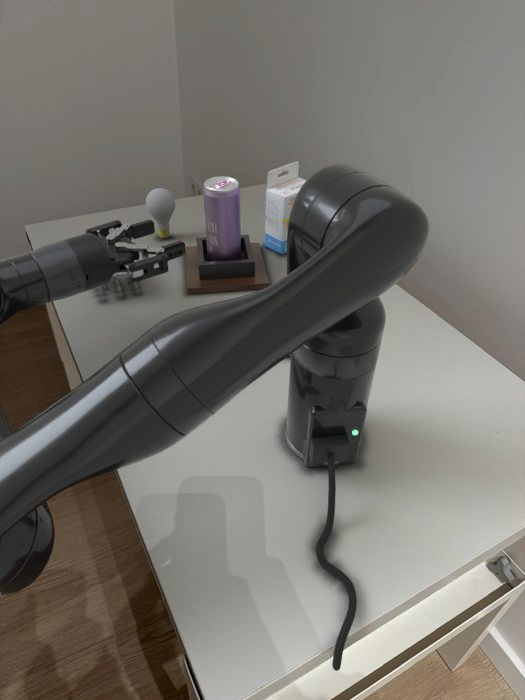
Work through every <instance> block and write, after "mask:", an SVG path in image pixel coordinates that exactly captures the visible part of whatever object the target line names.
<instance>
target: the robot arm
mask: <svg viewBox="0 0 525 700" xmlns="http://www.w3.org/2000/svg"><path fill="white" fill-rule="evenodd" d="M305 180H306V182H305V183H304V184H303V185H302V187H301V188H300V190H299V192H298V194H297V196H296V198H295V200H294V203H293V205H292V209H291V213H290V217H289V223H288V233H287V253H286V275H285V276H283V277H282V278H280V279H279V280H277V281H275V282H274V283H272V284H269V286H268V287H266V288H264V289H258V290H257V291H254V292H252V293H249V294H245V295H241V296H238V297H233V298H230V299H226V300H220V301H215V302H212V303H207V304H204V305H199V306H195V307H191V308H188V309H185V310H182V311H179V312H176V313H173V314H171V315H169V316H168V317H165V318H164V319H162V320H160V321H159V322H158V323H156V324H155V325H153V326H152V327H150V328H149V329H148V330H146V331H145V332H144V333H142V334H141V335H140V336H138V337H137V338H136V339H135V340H133V341H132V342H131V343H129V344H128V345H127V346H126V347H125V348H123V349H122V350H121V351H119V352H118V353H117V354H116V355H114V357H112V358H111V359H110V360H109V361H107V363H105V364H104V365H103V366H102V367H100V368H99V369H97V371H95V372H94V373H93V374H92V375H90V376H89V377H88V378H86V379H85V380H84V381H83V382H81V383H80V384H79V385H77V386H76V387H74V388H73V389H71V390H70V391H69V392H68V393H66V394H65V395H64V396H63V397H61V398H59V399H58V400H57V401H55V402H54V403H53V404H52V405H50V406H48V407H47V408H46V409H45V410H43V411H42V412H40V413H38V415H36V416H35V417H33V418H32V419H31V420H30V421H28V422H27V423H25V424H24V425H23V426H20V427H19V428H18V429H16V430H15V431H12V429H11V427H10V425H9V422H8V420H7V418H6V415H5V413H4V410H3V408H2V405H1V404H0V596H7V595H8V596H9V595H13V594H15V593H19V592H20V591H22V590H24V589H25V588H28V587H29V586H31V585H32V584H33V583H34V582H35V581H36V580H37V579H38V578H39V576H40V575H41V574H42V573H43V571H44V570H45V568H46V567H47V564H49V563H48V562H49V561H50V558H51V556H52V553H53V550H54V544H55V535H56V533H55V532H56V530H55V522H54V518H53V515H52V511H51V509H50V507H49V504H48V503H47V502H48V501H49V500H51V499H53V498H54V497H55V496H57V495H60V493H62V492H64V491H66V490H67V489H70V488H72V487H73V486H77V485H79V484H80V483H83V482H86V481H88V480H91V479H94V478H96V477H99V476H102V475H105V474H108V473H111V472H114V471H116V470H120V469H122V468H126V467H129V466H131V465H133V464H136V463H139V462H141V461H145V460H146V459H149V458H151V457H154V456H156V455H158V454H160V453H162V452H164V451H166V450H168V449H169V448H172V447H173V446H174V445H176V444H178V443H179V442H181V441H183V439H185V438H186V437H188V435H190V434H191V433H193V432H194V431H195V430H196V429H198V428H200V426H202V425H203V424H204V423H206V421H208V420H209V419H210V418H211V417H213V416H214V415H215V414H217V413H218V412H219V411H220V410H221V409H223V408H224V407H225V406H226V405H227V404H229V402H231V401H232V400H233V399H234V398H236V396H238V395H239V394H240V393H241V392H243V391H244V390H245V389H247V388H248V387H249V386H251V385H252V384H253V383H255V382H256V381H257V380H259V379H260V378H261V377H262V376H263V375H265V374H266V373H268V372H269V371H271V370H272V369H273V368H274V367H276V366H277V365H279V364H281V362H282V361H284V360H285V359H287V358H288V357H290V363H289V364H290V365H289V377H288V379H289V380H288V393H287V394H288V395H287V410H286V423H285V431H284V436H285V440H286V441H285V442H286V444H287V446H288V447H289V449H290V450H291V451H292V453H293V454H294V455H296V457H298V458H300V459H301V460H302V461H303V462H304V466H305V468H315V467H316V468H317V467H325V466H327V476H328V493H327V497H328V498H327V513H326V522H325V527H324V529H323V532H322V533H321V535H320V537H319V539H318V541H317V543H316V548H315V549H316V550H315V553H316V558H317V561H318V563H319V564H320V565H321V566H322V568H323V569H325V571H327V572H328V573H329V574H331V575H332V576H333V577H335V578H336V579H337V580H339V581H340V582H341V583H342V584H344V586H345V589H346V591H347V596H348V608H347V612H346V614H345V618H344V619H343V623H342V625H341V628H340V630H339V632H338V636H337V638H336V641H335V644H334V645H335V646H334V650H333V657H332V662H331V663H332V664H331V666H332V669H333V671H337V672H338V671H340V669H341V666H342V661H343V660H342V659H343V653H344V650H345V649H344V648H345V645H346V642H347V639H348V636H349V633H350V631H351V628H352V625H353V623H354V620H355V618H356V613H357V607H358V605H357V604H358V600H357V599H358V597H357V592H356V588H355V585H354V583H353V581H352V580H351V578H350V577H349V576H348V575H347V574H345V572H344V571H342V570H340V569H339V568H337V566H335V565H334V564H332V563H331V562H330V561H329V560H328V559H327V557H326V555H325V552H324V549H325V546H326V544H327V541H328V540H329V538H330V536H331V534H332V531H333V527H334V523H335V522H334V520H335V514H336V512H335V511H336V491H337V490H336V486H337V485H336V465H346V464H352V463H353V464H355V463H356V462H357V458H358V454H359V449H360V445H361V442H362V436H363V432H364V426H365V421H366V419H367V418H366V417H367V413H368V412H367V411H368V406H369V405H368V404H369V400H370V396H371V391H372V387H373V381H374V376H375V372H376V368H377V363H378V360H379V359H378V358H379V355H380V349H381V345H382V341H383V336H384V331H385V325H386V320H387V319H386V316H387V313H386V309H385V306H384V304H383V301H382V299H381V295H383V294H385V293H386V292H387V291H389V290H390V289H391V288H393V286H395V285H396V284H398V282H399V281H400V280H401V279H403V278H404V277H405V276H406V275H407V274H408V273H409V271H410V270H411V269H412V268H413V267H414V266H415V265H416V263H417V262H418V260H419V259H420V258H421V256H422V255H423V252H424V251H425V249H426V246H427V243H428V240H429V235H430V230H431V229H430V227H431V226H430V220H429V217H428V215H427V213H426V212H425V210H424V209H423V208H422V206H420V204H418V203H417V202H416V201H415V200H414V199H412V198H411V197H409V196H408V195H406V194H405V193H403V192H402V191H400V190H399V189H397V188H395V187H393V186H391V185H390V184H388V183H386V182H385V181H383V180H381V179H379V178H378V177H376V176H374V175H372V174H371V173H370V172H367V171H366V170H364V169H362V168H360V167H358V166H356V165H353V164H349V163H344V162H340V163H339V162H337V163H332V164H327V165H325V166H323V167H321V168H319V169H318V170H316V171H315V172H313V174H311V175H310V176H309V177H307V179H305ZM111 229H113V231H111V233H110V230H111ZM155 231H156V228H155V222H154V221H153V220H152V219H146V220H143V221H140V222H136V223H133V224H131V223H127V222H125V223H122V221H121V220H120V219H116V220H113V221H108V222H106V223H103V224H99V225H96V226H93V227H90V228H87V229H85V233H84V234H83V233H82V234H80V235H76V236H72V237H70V238H66V239H63V240H59V241H55V242H52V243H49V244H45V245H42V246H40V247H37V248H35V249H33V250H30V251H27V252H24V253H20V254H17V255H14V256H10V257H7V258H3V259H0V326H1V325H2V324H4V323H6V322H7V321H8V320H10V319H11V318H13V317H14V316H16V315H17V314H19V313H21V312H24V311H27V310H31V309H33V308H36V307H39V306H42V305H45V304H47V303H52V302H55V301H60V300H64V299H67V298H71V297H74V296H77V295H79V294H82V293H86V292H88V291H91V290H94V289H96V288H97V289H98V287H99V286H101V287H102V286H104V285H107V284H109V283H110V282H111V281H112V279H113V278H112V277H113V275H114V274H115V273H119V272H127V273H128V274H129V275H128V276H129V282H130V283H134V282H137V283H138V282H141V281H144V280H147V279H150V278H154V277H156V276H160V275H162V274H163V275H164V274H166V273H168V272H169V261H172V260H175V259H178V258H181V257H183V256H184V255H186V250H185V247H186V243H185V241H183V240H177V241H174V242H170V243H168V244H165V245H162V246H161V247H154V246H153V247H151V246H148V245H147V244H145V243H136V242H134V241H132V240H137V239H140V238H144V237H147V236H151V235H153V234H155ZM140 253H141V254H140ZM140 255H141V257H142V259H140ZM149 255H153V256H150V257H149ZM289 355H291V356H289Z"/></svg>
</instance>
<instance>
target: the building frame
mask: <svg viewBox="0 0 525 700" xmlns="http://www.w3.org/2000/svg"><path fill="white" fill-rule="evenodd" d="M123 276H129V274H128V273H127V272H119V273H115V274H114V275H113V277H112V279H113V280H114V283H115V286H116V290H117V292H118V295H119V297H121V296H123V292H122V288H121V284H120V282H119V277H123ZM105 285H106V284H105ZM105 285H103V287H104V289H106V286H105ZM132 286H133V288H134V289H135V291H137V290H139V285H138V282H132ZM97 289H98V292H99V296H101V298H102V301H103V302H105V300H104V291H103V288H102V286H99V287H97ZM139 294H140V292H139V291H137V292H135V295H139Z"/></svg>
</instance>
